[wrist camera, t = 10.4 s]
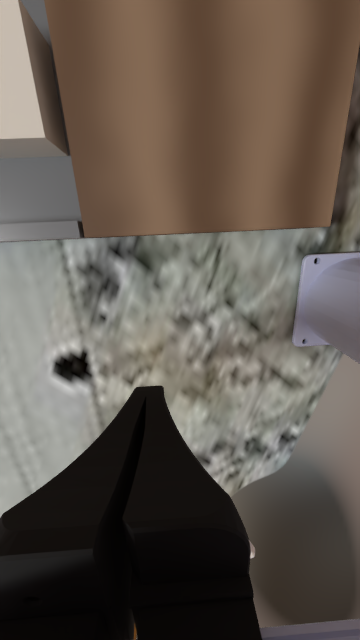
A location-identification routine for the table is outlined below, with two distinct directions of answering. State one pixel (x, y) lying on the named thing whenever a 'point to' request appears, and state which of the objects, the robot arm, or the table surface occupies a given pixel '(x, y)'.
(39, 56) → the cream tile
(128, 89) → the brown wooden board
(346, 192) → the table surface
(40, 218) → the tray
